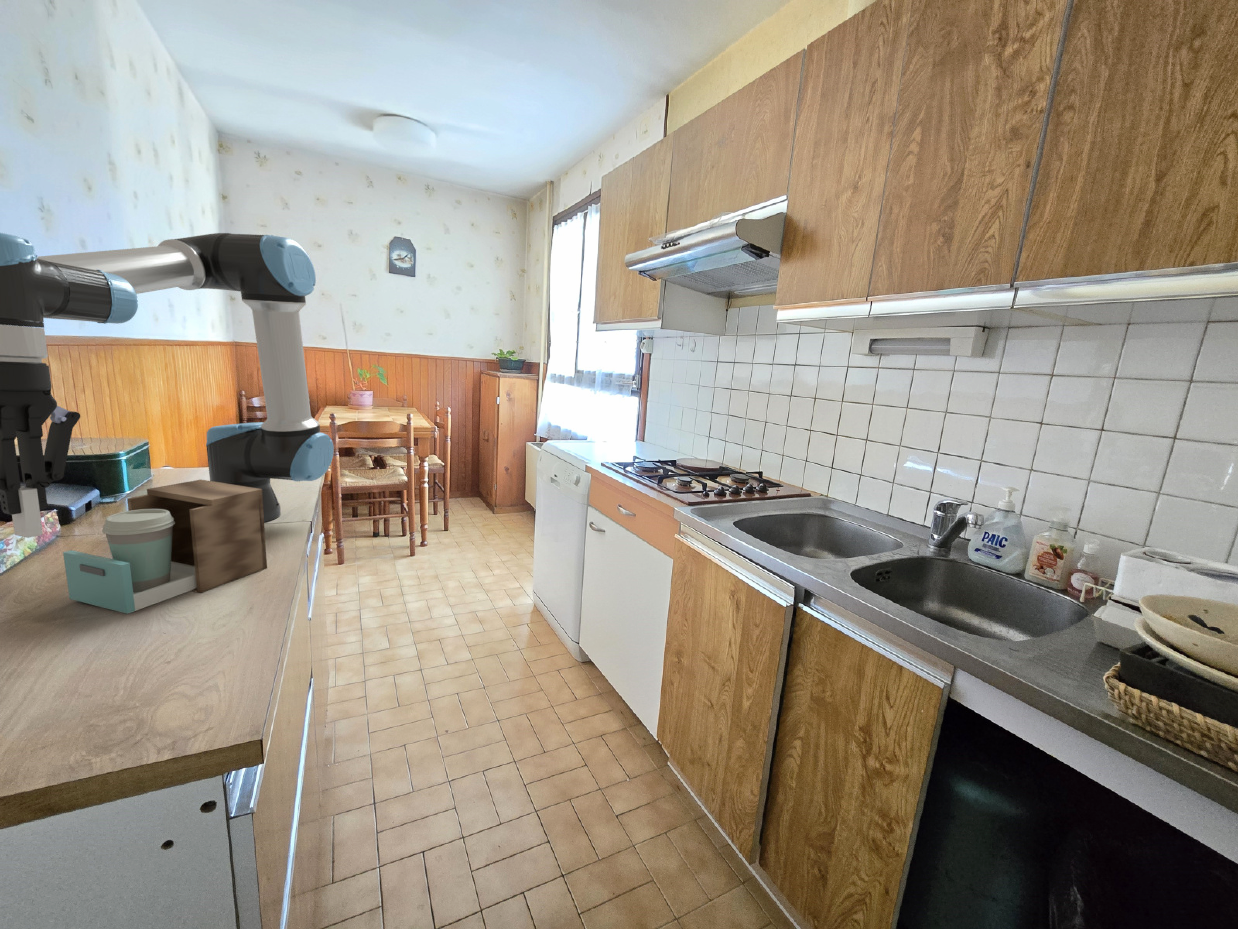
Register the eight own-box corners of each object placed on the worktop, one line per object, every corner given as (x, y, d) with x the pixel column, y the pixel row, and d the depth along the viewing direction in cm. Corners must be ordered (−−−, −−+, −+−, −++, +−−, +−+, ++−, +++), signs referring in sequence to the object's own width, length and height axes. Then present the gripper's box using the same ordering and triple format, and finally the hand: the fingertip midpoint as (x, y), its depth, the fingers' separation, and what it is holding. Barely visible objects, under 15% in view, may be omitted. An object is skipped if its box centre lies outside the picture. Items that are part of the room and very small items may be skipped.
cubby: (207, 555, 100) (200, 479, 97) (267, 568, 96) (261, 489, 93) (136, 578, 88) (126, 492, 85) (200, 593, 84) (192, 504, 82)
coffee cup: (193, 578, 86) (187, 511, 84) (138, 599, 78) (129, 525, 76) (153, 571, 88) (146, 505, 86) (94, 591, 80) (85, 519, 77)
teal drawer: (158, 570, 90) (153, 529, 89) (211, 582, 87) (207, 540, 86) (67, 599, 79) (60, 552, 77) (125, 614, 75) (119, 566, 74)
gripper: (52, 360, 72) (72, 519, 76) (-95, 354, 59) (-63, 545, 63) (89, 363, 70) (107, 526, 74) (-56, 358, 58) (-24, 554, 62)
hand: (28, 534), depth 69 cm, fingers closed
